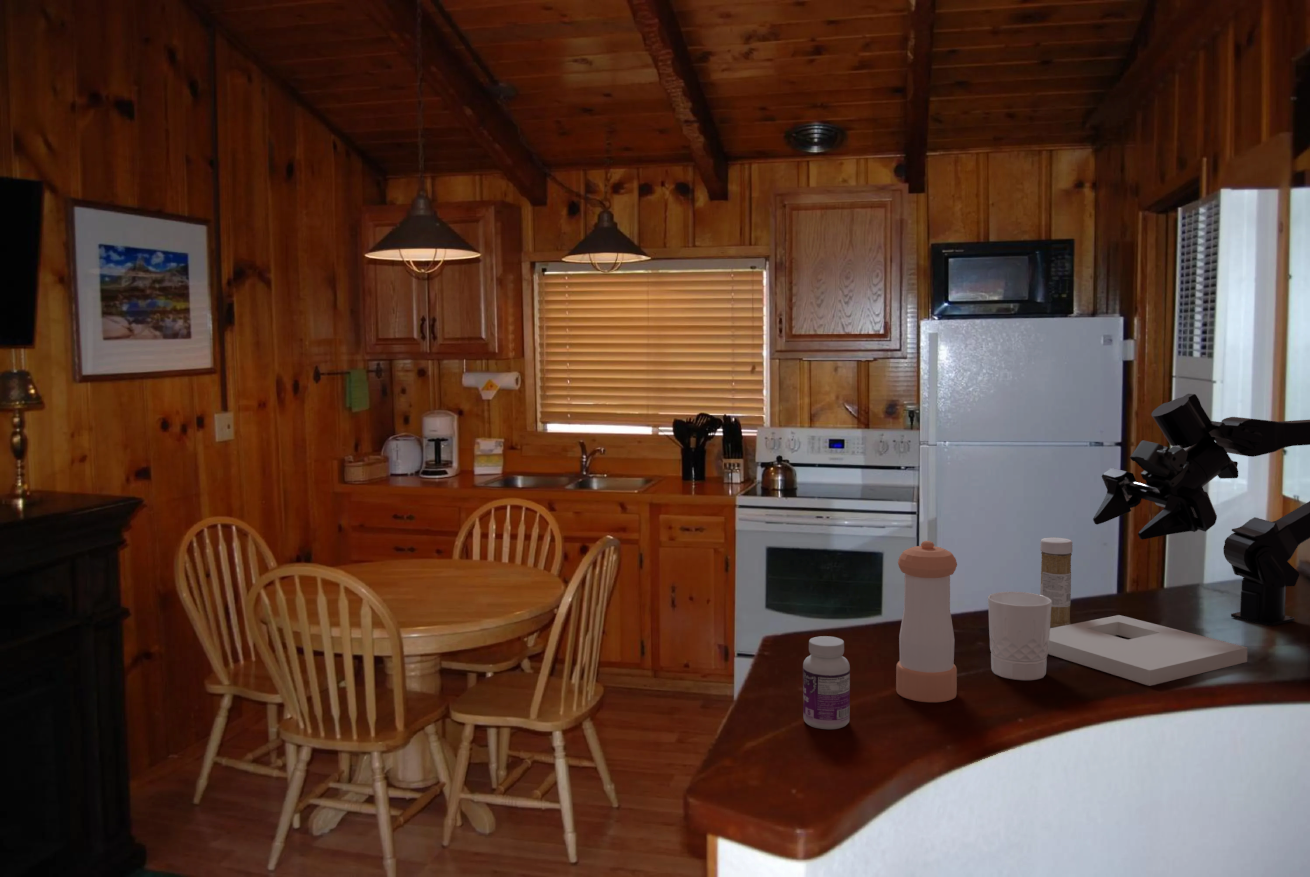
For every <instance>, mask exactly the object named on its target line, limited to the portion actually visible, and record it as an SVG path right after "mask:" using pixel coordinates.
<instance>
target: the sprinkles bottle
mask: <svg viewBox="0 0 1310 877" xmlns="http://www.w3.org/2000/svg"><path fill="white" fill-rule="evenodd" d="M1039 549H1040V552H1041V553H1040V554H1041V562H1040V565H1041V567H1040V588H1039V589H1040V592H1039V595H1042V596H1045V597H1048V598H1050V599H1051V600H1052V606H1051V621H1050V628H1054V627H1060V626H1065V625H1070V624H1071V620H1070V619H1071V617H1070V616H1071V614H1070V611H1071V600H1072V597H1071V594H1072V591H1071V590H1072V565H1071V564H1072V553H1073V541H1072V540H1071V539H1069V538H1065V537H1057V536H1056V537H1055V536H1053V537H1044V538H1041V539H1040V548H1039Z"/></svg>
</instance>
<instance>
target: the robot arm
mask: <svg viewBox="0 0 1310 877" xmlns="http://www.w3.org/2000/svg"><path fill="white" fill-rule="evenodd" d="M1150 415H1151V417H1152V418H1153V419H1154V422H1155V423H1156V425H1157V426H1158V427H1159V429H1160V431H1161V432H1162V435H1163V436H1164V438H1166V440H1167V442H1168V443H1169V445H1170V446H1171V447H1169V446H1165V445H1163V444H1160V443H1156V442H1152V441H1148V440H1141V441H1140V442H1139V444H1138V445H1137V446H1136V447H1135V449H1134V451H1133V452H1132V453H1131V455H1130V456H1129V458H1130V460H1131V461H1132V462H1135V463H1136V464H1137V465H1138V466H1139V467H1140V468H1141V469H1142V470H1143V471H1141V472H1140V475H1141V478H1142V480H1144V481H1145V483H1141V482H1137V479H1136V476H1135V475H1134V473H1133V472H1129V471H1126V470H1122V469H1117V468H1113V467H1110V468H1109V469H1108V470H1107V471H1105V472H1104V473H1102V475H1101V478H1102V481H1103V483H1104V485H1105V488H1106V494H1105V497H1104V498H1103V501H1102V502H1101V504H1100V506H1099V508H1098V509H1097V511H1096V513H1095V514H1094V516H1093V518H1092V520H1093V523H1094V525H1101V524H1104V523H1106V522H1109V521H1111V520H1114V519H1115V518H1118V517H1121V516H1123V515H1126V514H1127V513H1130V512H1132V510H1131V508H1136V507H1137V506H1139V505H1140V504H1141V502H1142V500H1145V501H1149V502H1152V503H1154V504H1155V505H1156V506H1158V507H1161V508H1163V509H1162V510H1161V511H1160V512H1158V513H1157V514H1156V516H1154V517H1153V518H1152V519H1151V520H1150V521H1148V522H1147V523H1146V524H1145V525H1144V526H1143V527H1142V528H1141V529H1140V530H1139V532H1138V533H1137V535H1138V538H1139V539H1140V540H1148V539H1153V538H1159V537H1163V536H1168V535H1175V534H1180V533H1188V532H1192V533H1195V532H1197V531H1202V532H1207V531H1208V530H1210V529H1211V528H1212V527H1213V526H1215V525H1216V522H1217V520H1218V519H1217V517H1218V515H1217V513H1216V510H1215V508H1214V505H1213V503H1212V501H1211V498H1210V496H1209V493H1208V491H1205V490H1204V488H1203V487H1204V486H1205V485H1207V484H1208V483H1210V482H1211V481H1213V480H1214V478H1216V477H1218V478H1219V479H1220V480H1221V479H1223V480H1224V479H1238V477H1239V470H1238V464H1239V462H1238V461H1234V460H1232V458H1231V457H1230V455H1229V454H1235V455H1238V456H1239V455H1240V456H1243V457H1245V456H1246V457H1258V456H1263V455H1267V454H1272V453H1274V452H1277V451H1280V450H1282V449H1285V448H1290V447H1296V446H1300V447H1301V446H1310V419H1300V420H1299V419H1298V420H1283V421H1276V420H1267V419H1258V418H1257V419H1256V418H1247V417H1239V416H1238V417H1237V416H1229V417H1225V418H1223V419H1222V420H1221V421H1216V420H1215V421H1214V420H1211V419H1210V417H1209V415H1208V413H1206V411H1205V409H1204V408H1203V406H1202V404H1201V401H1200V399H1199V397H1198V396H1197V394H1195V393H1187V394H1185V395H1184V396H1182V397H1178V398H1175V399H1172V400H1171V401H1169V402H1163V403H1161V404H1160V405H1159V406H1157V407H1156V408H1155V409H1153V411H1152V412H1151V414H1150ZM1231 532H1233V533H1231V534H1230V535H1228V536H1227V537H1226V538H1225V540H1224V544H1223V556H1224V558H1225V560H1226V561H1227V562H1228V564H1230V565H1231V568H1232V571H1233V573H1234V575H1235V576H1239V577H1242V580H1241V589H1240V590H1241V591H1240V606H1239V607H1240V608H1239V609H1240V610H1239V611H1237V612H1232V613H1230V617H1231V618H1234V619H1238V620H1243V621H1248V622H1252V623H1257V624H1261V625H1264V626H1273V627H1274V626H1276V625H1282V624H1285V623H1290V622H1294V621H1296V620H1295V619H1296V618H1295V617H1294V616H1289V615H1286V593H1287V588H1288V587H1295V586H1296V584H1297V582H1298V579H1299V577H1300V572H1299V571H1298V570H1297V569H1296V568H1295V567H1294V566H1292V564H1291V563H1289V561H1290V560H1291V559H1292V557H1293V555H1294V554H1295V552H1296V550H1297V549H1298V547H1299V546H1300V545H1301V544H1303V543H1304V542H1307V540H1309V539H1310V500H1309V501H1308V502H1306V503H1304V504H1302V505H1301V506H1299V507H1297V508H1295V509H1293V511H1290V512H1289V513H1287V514H1285V515H1283V516H1282V517H1280V518H1278V519H1277V520H1274V521H1269V520H1266V519H1262V518H1260V517H1253V518H1252V517H1251V519H1249V520H1248V521H1246V522H1245V523H1244V524H1243V525H1241V526H1239V527H1237V528H1235V527H1234V528H1231Z"/></svg>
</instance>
